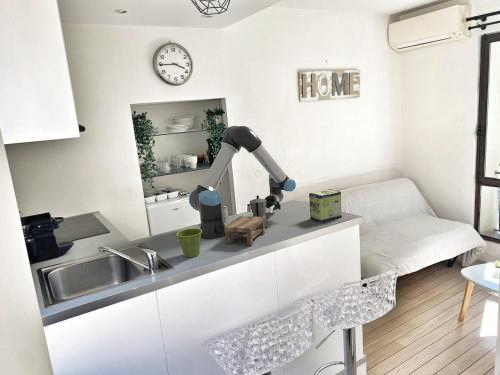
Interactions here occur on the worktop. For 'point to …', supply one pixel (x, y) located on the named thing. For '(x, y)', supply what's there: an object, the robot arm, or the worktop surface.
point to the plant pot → (190, 241)
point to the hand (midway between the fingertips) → (258, 210)
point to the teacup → (224, 213)
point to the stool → (244, 228)
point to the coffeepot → (259, 209)
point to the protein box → (325, 205)
